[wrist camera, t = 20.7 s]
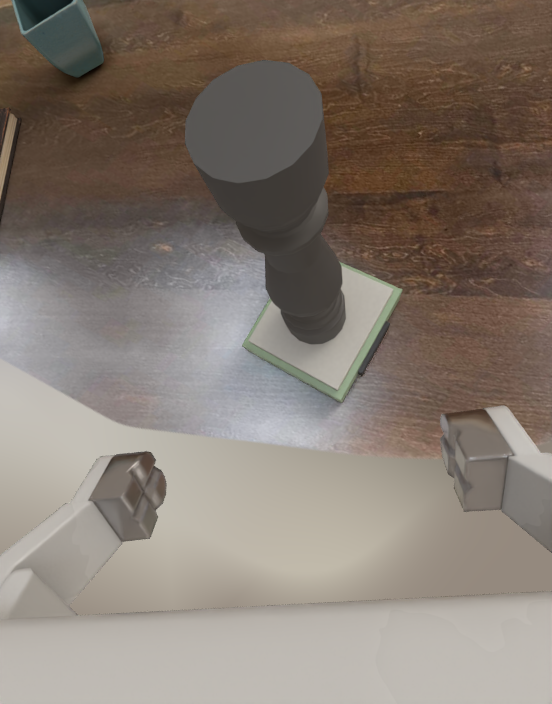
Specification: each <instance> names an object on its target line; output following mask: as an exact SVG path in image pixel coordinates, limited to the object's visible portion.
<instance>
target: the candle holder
mask: <svg viewBox="0 0 552 704" xmlns="http://www.w3.org/2000/svg"><path fill="white" fill-rule="evenodd" d="M185 145H186V147H187V149H188V151H189V154H190V156H191V158H192V160H193V162H194V164H195V166H196V168H197V169H198V171H199V173H200V174H201V176H202V178H203V180H204V181H205V183H206V185H207V186H208V188H209V190H210V191H211V193H212V195H213V197H214V198H215V200H216V202H217V203H218V205H219V207H220V208H221V210H223V211H224V212H225V213H226V214H228V215H229V216H230V217H231V218H233V219H234V220H235V221H236V225H237V227H238V229H239V231H240V233H241V235H242V237H243V239H244V241H246V242H247V243H248V244H249V245H251V246H252V247H253V248H254V249H255V250H257V251H258V252H261V253H264V254H265V277H266V290H267V292H268V294H269V296H270V298H271V300H272V302H273V304H275V305H276V306H277V307H278V308H279V309H281V315H282V318H283V320H284V322H285V324H286V326H287V327H288V329H289V330H290V332H291V334H293V335H294V336H295V337H296V338H297V339H298V340H299V341H302V342H305V343H308V344H323V343H325V342H327V341H330V340H332V339H334V338H335V337H336V336H337V334H338V333H339V332H340V331H341V330H342V328H343V326H344V323H345V320H346V311H345V298H344V294H343V292H342V290H341V287H342V284H343V280H342V266H341V264H340V262H339V260H338V259H337V257H336V255H335V253H334V252H333V250H332V249H331V248H330V246H329V245H328V244H327V242H326V241H325V239H324V238H323V237H322V235H321V232H322V230H323V227H324V224H325V222H326V219H327V216H328V200H327V193H326V191H325V189H324V188H323V187H324V184H325V181H326V179H327V176H328V174H329V172H328V157H327V145H326V135H325V125H324V115H323V105H322V95H321V93H320V91H319V89H318V88H317V86H316V85H315V83H314V82H313V80H312V78H311V77H310V75H309V74H307V73H305V72H304V71H302V70H300V69H298V68H297V67H295V66H293V65H292V64H290V63H285V62H277V61H268V60H262V61H257V62H253V63H248V64H244V65H239V66H236V67H235V68H233V69H231V70H229V71H228V72H226V73H224V74H222V75H221V76H219V77H217V78H215V79H214V80H213V81H212V82H211V83H210V84H209V85H208V86H207V87H206V88H205V89H204V90H203V92H202V93H201V94H200V95H199V96H198V97H197V98H196V100H195V102H194V104H193V106H192V108H191V111H190V113H189V115H188V117H187V119H186V129H185Z"/></svg>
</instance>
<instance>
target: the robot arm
mask: <svg viewBox="0 0 552 704" xmlns="http://www.w3.org/2000/svg"><path fill="white" fill-rule="evenodd" d="M440 426H441V428H442V430H443V433H444V435H443V436H442V437H441V438H440V441H441V452H442V458H443V461H444V464H445V467H446V470H447V472H448V474H449V475H450V476H452V477H453V478H454V489H455V492H456V494H457V496H458V499H459V501H460V503H461V506H462V508H463V510H464V512H468V511H483V510H484V511H485V510H502V512H503V513H504V514H505V515H507V516H508V517H509V518H510V519H511V520H513V521H514V522H515V523H516V524H518V525H519V526H520V527H521V528H522V529H524V530H525V531H526V532H527V533H528V534H529V535H531V536H532V537H533V538H534V539H535V540H537V541H538V542H539V543H540V544H542V545H543V546H544V547H545V548H546V549H547V550H549V551H550V552H551V553H552V454H550V453H541V452H540V451H539V449H538V448H537V447H536V445H535V444H534V443H533V441H532V440H531V438H530V437H529V436H528V434H527V433H526V432H525V430H524V429H523V427H522V426H521V425H520V423H519V422H518V421H517V419H516V418H515V417H514V415H513V414H512V412H511V411H510V410H509V408H508V407H506V406H497V407H489V408H483V409H476V410H469V411H461V412H454V413H446V414H442V415H441V418H440ZM155 461H156V459H155V458H154V456H153V455H152V453H151V452H136V453H127V454H117V455H111V456H101V457H100V458H98V459H97V460H96V461H95V463H94V464H93V466H92V468H91V469H90V471H89V472H88V474H87V476H86V477H85V479H84V481H83V482H82V484H81V486H80V488H79V489H78V491H77V492H76V494H75V496H74V497H73V499H72V501H71V502H70V503H65V504H64V505H63V506H61V507H60V508H59V509H58V510H56V511H55V512H54V513H53V514H51V515H50V516H49V517H48V518H46V519H45V520H44V521H43V522H41V523H40V524H39V525H38V526H36V527H35V528H34V529H33V530H31V531H30V532H29V533H28V534H26V535H25V536H24V537H22V538H21V539H20V540H19V541H18V542H16V543H15V544H14V545H12V546H11V547H10V548H9V549H7V550H6V551H5V552H4V553H2V554H1V555H0V704H552V591H542V592H541V591H540V592H521V593H502V594H482V595H463V596H445V597H424V598H405V599H387V600H368V601H367V600H366V601H349V602H328V603H308V604H289V605H271V606H252V607H232V608H214V609H194V610H176V611H175V610H174V611H156V612H136V613H116V614H96V615H77V614H76V613H75V612H74V611H73V610H72V609H71V608H70V607H69V605H70V604H71V603H72V602H73V601H74V600H75V598H76V597H77V596H78V595H79V594H80V593H81V591H82V590H83V589H84V588H85V587H86V585H87V584H88V583H89V582H90V580H92V579H93V577H94V576H95V575H96V574H97V573H98V571H99V570H100V569H101V568H102V567H103V566H104V565H105V563H106V562H107V561H108V560H109V559H110V558H111V556H112V555H113V554H114V553H115V552H116V550H117V549H118V548H119V547H120V546H121V545H122V542H124V541H132V540H141V539H150V537H151V534H152V532H153V529H154V526H155V523H156V521H157V518H158V516H157V513H156V511H155V510H156V509H157V508H158V507H159V506H160V505H161V504H163V501H164V498H165V495H166V480H165V476H164V475H163V472H162V471H161V470H160V469H158V468H156V467H155V466H154V464H155Z"/></svg>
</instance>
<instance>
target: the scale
mask: <svg viewBox="0 0 552 704" xmlns="http://www.w3.org/2000/svg"><path fill="white" fill-rule="evenodd" d="M340 264H341V266H342V280H343V284H342V287H341V290H342V292H343V294H344V298H345V311H346V320H345V323H344V326H343V328H342V330H341V331H340V332H339V333H338V334H337V336H336V337H335V338H334V339H332V340H330V341H327V342H325V343H323V344H308V343H305V342H302V341H299V340H298V339H297V338H296V337H295V336H294V335H293V334H291V332H290V330H289V329H288V327H287V326H286V324H285V322H284V320H283V318H282V315H281V309H279V308H278V307H277V306H276V305H275V304H273V302H272V300H271V298H270V299H269V301H268V302H267V304H266V306H265V307H264V309H263V311H262V312H261V314H260V316H259V318H258V319H257V321H256V323H255V324H254V326H253V328H252V329H251V331H250V333H249V334H248V336H247V338H246V340H245V341H244V343H243V345H242V346H243V347H244V348H245V349H247V350H248V351H249V352H251V353H253V354H254V355H256V356H258V357H260V358H262V359H263V360H265V361H267V362H269V363H271V364H272V365H274V366H276V367H278V368H279V369H281V370H283V371H285V372H287V373H288V374H290V375H292V376H294V377H296V378H297V379H299V380H301V381H303V382H304V383H306V384H308V385H310V386H312V387H313V388H315V389H317V390H319V391H321V392H322V393H324V394H326V395H328V396H329V397H331V398H333V399H335V400H337V401H338V402H340V403H342V402H343V400H344V399H345V397H346V395H347V393H348V391H349V390H350V388H351V386H352V384H353V382H354V381H355V379H356V377H357V375H358V374H359V375H361V376H362V375H363V373H364V372H365V370H366V368H367V366H368V364H369V363H370V361H371V359H372V357H373V355H374V353H375V352H376V350H377V348H378V346H379V344H380V343H381V341H382V339H383V337H384V335H385V334H386V332H387V330H388V328H389V325H390V323H389V322H387V321H388V319H389V318H390V316H391V314H392V312H393V310H394V309H395V307H396V305H397V303H398V301H399V299H400V296H401V293H402V289H400V288H397V287H395V286H393V285H391V284H388V283H386V282H384V281H382V280H379V279H377V278H375V277H373V276H370V275H368V274H366V273H363V272H361V271H359V270H357V269H354V268H352V267H350V266H348V265H345V264H343V263H341V262H340Z"/></svg>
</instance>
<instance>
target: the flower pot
mask: <svg viewBox="0 0 552 704" xmlns="http://www.w3.org/2000/svg"><path fill="white" fill-rule="evenodd" d="M11 1H12V4H13V7H14V11H15V14H16V17H17V21H18V24H19V28H20V31H21V34H22V35H23V36H24V37H25V38H26V39H27V40H28V41H29V42H30V43H31V44H32V45H33V46H34V47H35V48H36V49H37V50H38V51H39V52H40V53H41V54H42V55H43V56H44V57H45V58H46V59H47V60H48V61H49V62H50V63H51V64H52V65H54V66H55V67H56V68H58V69H59V70H61V71H62V72H64V73H66V74H68V75H71V76H74V77H77V78H78V77H80V76H82V75H83V74H85V73H87V72H88V71H90V70H92V69H94V68H95V67H97V66H99V65H100V64H102V63H103V62H104V57H103V52H102V48H101V44H100V42H99V39H98V37H97V34H96V32H95V29H94V27H93V24H92V21H91V18H90V16H89V13H88V11H87V9H86V6H85V4H84V2H83V0H11Z"/></svg>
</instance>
